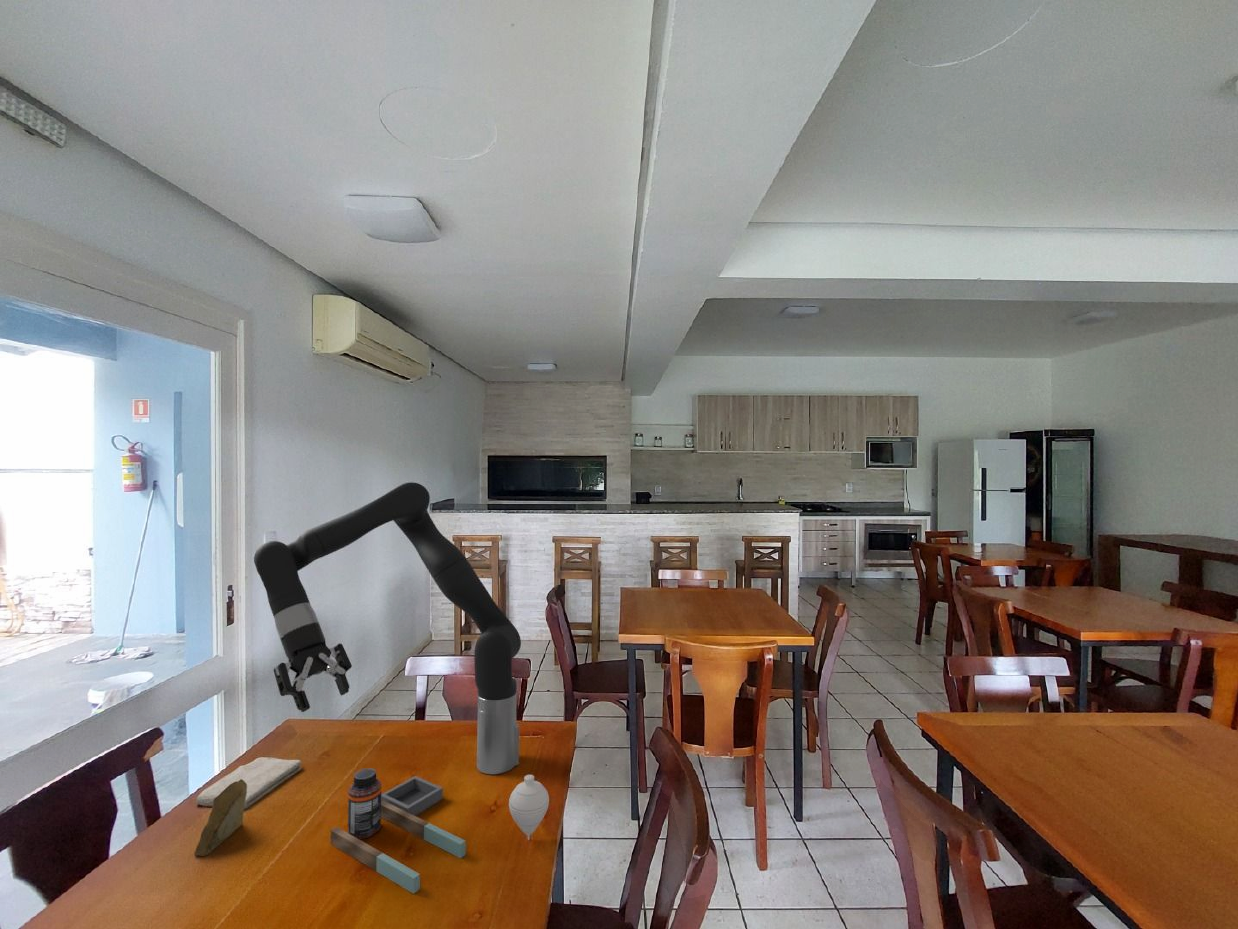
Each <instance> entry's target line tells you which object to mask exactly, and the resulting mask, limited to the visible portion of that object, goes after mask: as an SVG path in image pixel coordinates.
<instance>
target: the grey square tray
mask: <svg viewBox="0 0 1238 929" xmlns="http://www.w3.org/2000/svg"><path fill="white" fill-rule="evenodd" d="M443 792H444V787H442V786H440V785H437V784H435V783H432V782H431V781H428V780H426V779H423V778H421V777H419V776H416V775H414V776H413V777H411V778H409V779H407V780H405V781H404V782H402V783H400V784H398V785H395V786H394V787H392V788H391V789H388V790H387V791H385V792H383V793H381V802H383V801H385V802H387V803H389V804H392V805H394V806H396V807H398V808H400V809H402V810H404V811H406V812H408V813H410V814H412V815H414V816H416V817H418V815H420V814H422V813H423V812H425V811H427V810H428V809H430V808H431V807H433V806H435V805H436V804H438V803H439V802H441V801H442V800H443V798H444V797H443V796H444V793H443Z"/></svg>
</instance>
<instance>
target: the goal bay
mask: <svg viewBox="0 0 1238 929" xmlns="http://www.w3.org/2000/svg"><path fill="white" fill-rule="evenodd" d="M423 840H424V841H426V842H428V843H430V844H431V845H433V846H435V847H437V848H440V849H441V850H444V851H446V852H448V853H449V854H451V855H453V856H455V857H456V858H459V859H461V858H464V857H465V855H466V849H467V848H466V847H467V846H466V845H467V844H466V840H465V839H462V838H461V837H458V836H456V835H454V834H453V833H450V832H448V831H446V830H444V829H442V828H440V827H438V826H436V825H434V824H432V823H430V822H428V824H427V825H425V826H424V839H423ZM375 872H376V873H378V874H380V875H382V876H384V877H385V878H387V879H388V880H390V881H391V882H393V883H396V884H397V885H398V886H399V887H401V888H404V889H405V890H406V891H409V892H410V893H412V894H415V893H417V892H418V891H420V887H421V886H420V880H421V873H418V872H417V871H415V870H413V869H412V868H410V867H409V866H406V865H404V864H402V863H401V862H399V861H398V860H395V859H394V858H393V857H391V856H389V855H387V854H385V853H383V852H382V854H380V855H379V856H377V864H376V871H375Z"/></svg>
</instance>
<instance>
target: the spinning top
mask: <svg viewBox="0 0 1238 929" xmlns="http://www.w3.org/2000/svg"><path fill="white" fill-rule="evenodd" d="M523 779H524V781H521V782H520V783H519V784H517V785H516V787H515V788H514V789H513V791H512V792H511V794H510V796H509V800H508V810H509V812H510V815H511V817H512V819H513V821H514V822H515V824H516V825H517V826H518V827H519V829H520V830H521V831H522V833H523V834H524V835H526V837H527V840H528V841H530V837H531V835H532V834H533V833H534V832H535V831H536V830H537V828H538V827H539V825H540V824H541V823H542V821H543V819H544V817H545V815H546V814H547V811H548V808H549V806H550V803H549V802H550V796H549V792H548V791H547V788H545V786H544V785H543V784H542V783H541V782H539V781H537V780H535V776H534V774H526V775H524V777H523Z"/></svg>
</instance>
